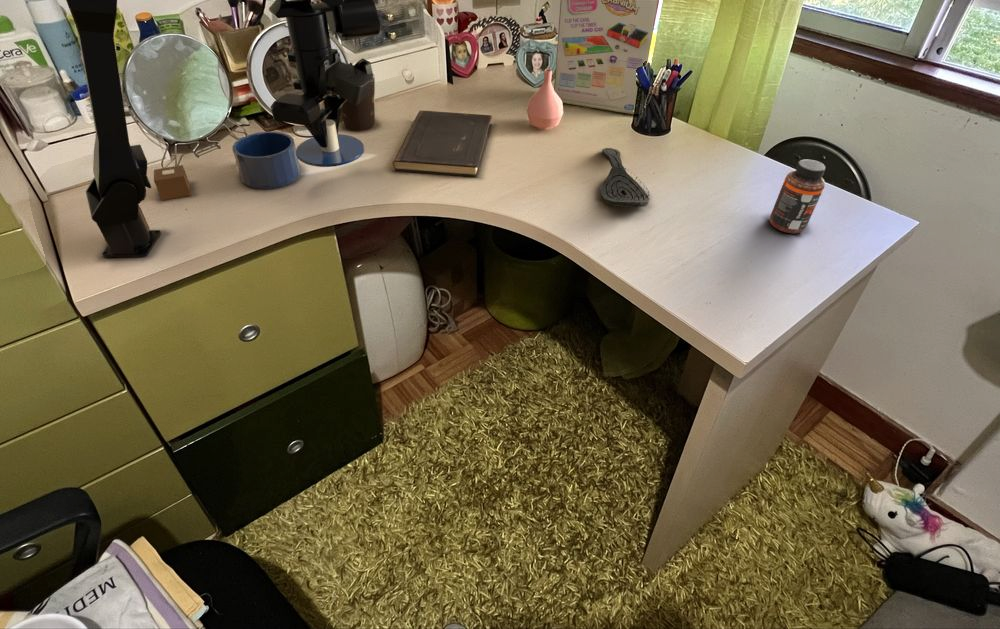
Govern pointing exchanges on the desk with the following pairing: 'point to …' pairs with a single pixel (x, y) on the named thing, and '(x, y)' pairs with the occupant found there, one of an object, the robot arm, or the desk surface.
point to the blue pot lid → (330, 149)
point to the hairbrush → (621, 184)
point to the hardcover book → (444, 144)
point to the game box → (604, 51)
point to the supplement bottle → (798, 197)
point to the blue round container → (267, 160)
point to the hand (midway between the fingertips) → (329, 142)
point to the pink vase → (545, 105)
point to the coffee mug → (360, 112)
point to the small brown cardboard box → (172, 182)
